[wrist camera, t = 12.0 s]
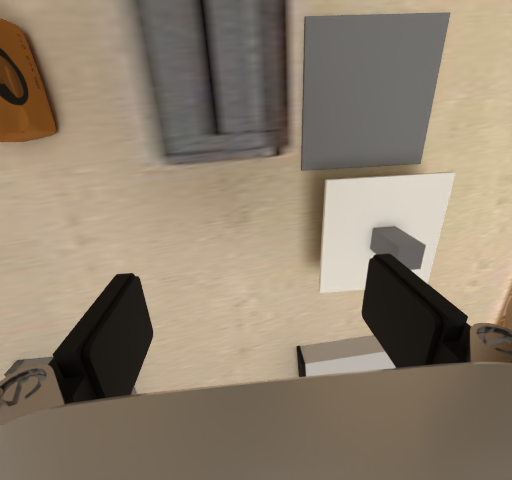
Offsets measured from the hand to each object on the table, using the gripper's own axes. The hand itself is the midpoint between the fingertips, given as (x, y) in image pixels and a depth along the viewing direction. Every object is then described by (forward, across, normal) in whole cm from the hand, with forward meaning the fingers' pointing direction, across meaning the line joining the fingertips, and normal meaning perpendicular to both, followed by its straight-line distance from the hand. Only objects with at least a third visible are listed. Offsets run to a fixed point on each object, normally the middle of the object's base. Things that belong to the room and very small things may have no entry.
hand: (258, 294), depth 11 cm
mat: (+30, -18, -9) cm, 36 cm away
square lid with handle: (+22, -18, +8) cm, 30 cm away
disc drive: (+31, -21, +42) cm, 56 cm away
